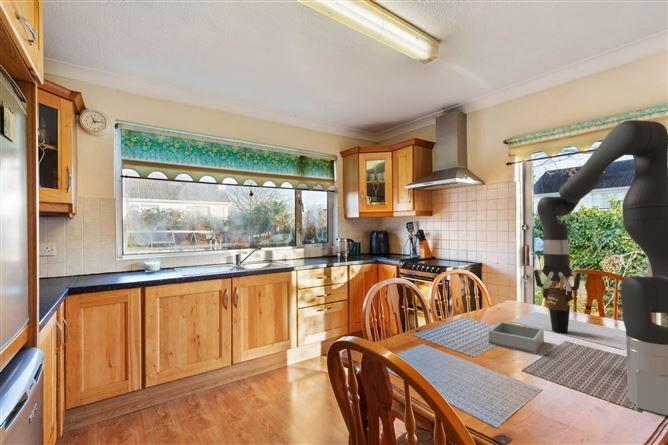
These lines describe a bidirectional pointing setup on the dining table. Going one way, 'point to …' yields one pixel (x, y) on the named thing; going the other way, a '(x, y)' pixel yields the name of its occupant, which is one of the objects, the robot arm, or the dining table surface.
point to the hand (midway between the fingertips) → (557, 300)
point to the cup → (560, 320)
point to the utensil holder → (557, 297)
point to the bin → (517, 337)
